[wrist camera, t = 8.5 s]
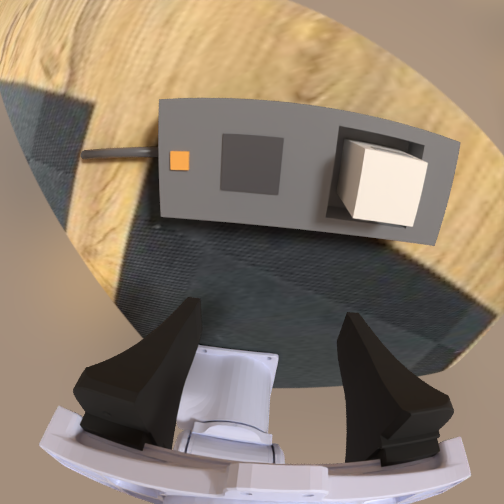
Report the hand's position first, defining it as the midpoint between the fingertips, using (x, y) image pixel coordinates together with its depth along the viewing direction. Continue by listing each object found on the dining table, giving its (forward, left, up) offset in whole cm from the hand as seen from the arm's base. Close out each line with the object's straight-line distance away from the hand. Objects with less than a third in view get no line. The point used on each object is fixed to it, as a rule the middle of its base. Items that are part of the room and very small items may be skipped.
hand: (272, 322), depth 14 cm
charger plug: (+6, +6, -9) cm, 13 cm away
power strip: (-2, +6, -10) cm, 12 cm away
